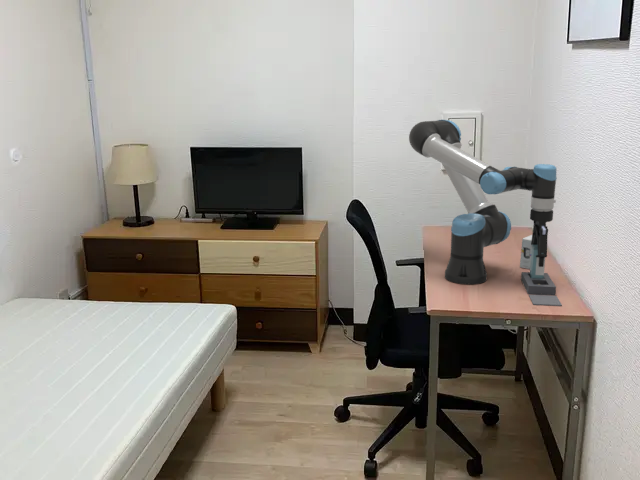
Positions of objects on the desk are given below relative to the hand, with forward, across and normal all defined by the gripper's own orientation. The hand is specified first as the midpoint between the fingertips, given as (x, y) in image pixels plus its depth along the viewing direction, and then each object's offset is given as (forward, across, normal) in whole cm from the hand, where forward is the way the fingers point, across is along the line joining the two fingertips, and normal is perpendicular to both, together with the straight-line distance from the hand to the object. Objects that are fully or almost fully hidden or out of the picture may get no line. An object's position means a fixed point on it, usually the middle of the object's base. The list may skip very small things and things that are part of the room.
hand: (537, 270), depth 227 cm
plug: (+5, 0, 0) cm, 5 cm away
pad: (+5, -18, 0) cm, 18 cm away
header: (+5, -4, 0) cm, 6 cm away
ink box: (+5, +22, -2) cm, 23 cm away
